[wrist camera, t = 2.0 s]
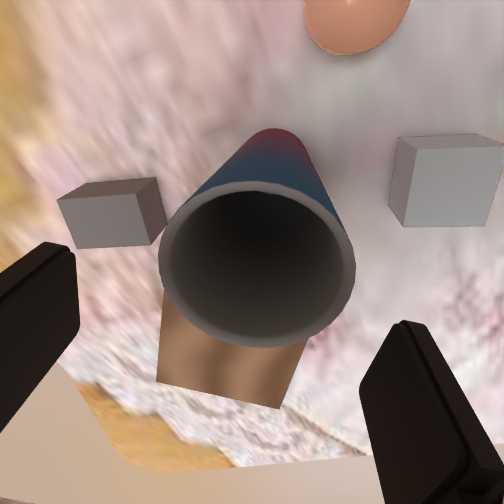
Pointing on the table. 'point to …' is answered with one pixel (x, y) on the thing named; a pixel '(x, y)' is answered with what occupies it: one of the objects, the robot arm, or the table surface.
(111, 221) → the taupe block
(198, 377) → the walnut board
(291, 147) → the cup
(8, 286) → the robot arm
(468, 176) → the slate block
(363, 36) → the terracotta ball
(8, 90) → the table surface
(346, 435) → the table surface
